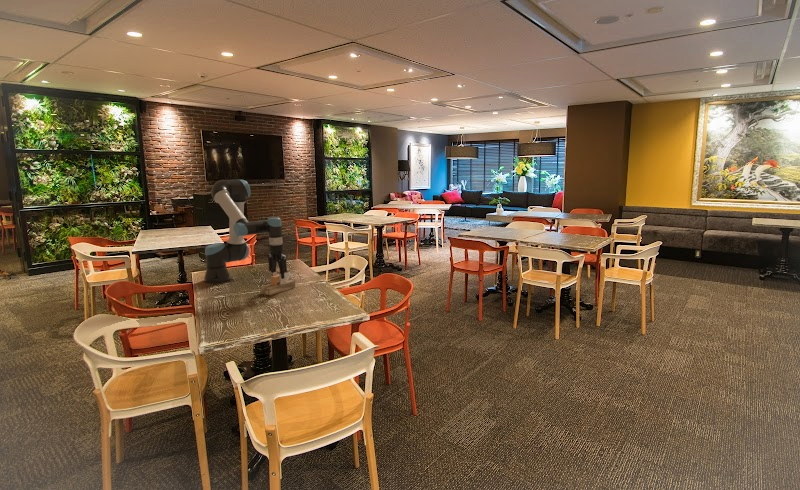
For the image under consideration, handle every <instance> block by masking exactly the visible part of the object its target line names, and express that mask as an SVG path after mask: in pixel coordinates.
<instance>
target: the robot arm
mask: <svg viewBox="0 0 800 490" xmlns="http://www.w3.org/2000/svg"><path fill="white" fill-rule="evenodd" d="M210 192H211V197H212V199H213V201H215V203H216V204H218V205H219V206H220V207H221V209H222V210H223V211H224V213H225V214H226V215H227V217H228V219H229V223H228V225H229V227H228V229H229V230H228V231H229V233H228V234H229V235H228V239H227V240H226V244H225V243H224V242H217V243H212V244H209V245H207V246H206V247H205V248H204V255H205V264H206V267H205V268H206V271H205V275H204V282H205V283H209V284H214V283H215V284H217V283H223V282H228V281H229V280H230V279H231V275H230V273H229V270H228V269H227V263H232V262H237V261H238V262H239V261H243V260H244V261H245V260H246V259H247V258H248V257H249V254H250V247H249V245H248V243H247V242H246V240H245V239H244V237H245V236H255V235H261V234H262V235H263V234H268V242H269V247H268V248H269V252H270V253H268V254H267V256H266V257H267V260H268V261H267V262H268V271H269V272H271V274H272V275H271V276H275V275H277V272H276V269H277V265H278V268H279V270H280V273H279V277H280V284H284V278H285V277H284V273H285V272H287V268H288V265H287V259H288V258H287V257H288V256H287V255H285V254H284V253H283V251H284V245H283V243H284V242H283V224H282V219H281V218H280V217H268V218H267V219H260V220H257V221H249V220H248V219H247V218H246V216H245V215H244V213H245V210H244V209H245V203H247V199H248V198H250V196H251V194H252V193H251V188H250V184H249V183H248V181H247V180H244V179H220V180H217V181H216V182H215V183H214V184H213V185H212V187H211V191H210ZM277 283H278V282H277Z"/></svg>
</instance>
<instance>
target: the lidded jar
mask: <svg viewBox="0 0 800 490" xmlns="http://www.w3.org/2000/svg"><path fill="white" fill-rule="evenodd" d="M276 272H277V275H278V274H279V273H280V270H279V267H278V268H277V267H276ZM284 277H285V279H287V280H290V277H291V268H288V267H287V272H285V273H284Z"/></svg>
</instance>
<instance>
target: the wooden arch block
mask: <svg viewBox="0 0 800 490" xmlns="http://www.w3.org/2000/svg"><path fill="white" fill-rule="evenodd" d="M278 281H279V283H280V277H279V274H278V275H275V276H272V275H271V276H270V284H271V285H272V286H277V282H278ZM284 283H285V278H284Z"/></svg>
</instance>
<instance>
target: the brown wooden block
mask: <svg viewBox="0 0 800 490" xmlns="http://www.w3.org/2000/svg"><path fill="white" fill-rule="evenodd" d="M294 288H296V280H293V279H288V280H287V279H285V283H284V284H280V283H279V281H278V283H277V286H272V285H271V283H269V284H265V285H262V286H259V291H260V292H259V293H260V294H261V295H265V296H273V295H276V294H279V293H283V292H285V291H289V290H291V289H294Z"/></svg>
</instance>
